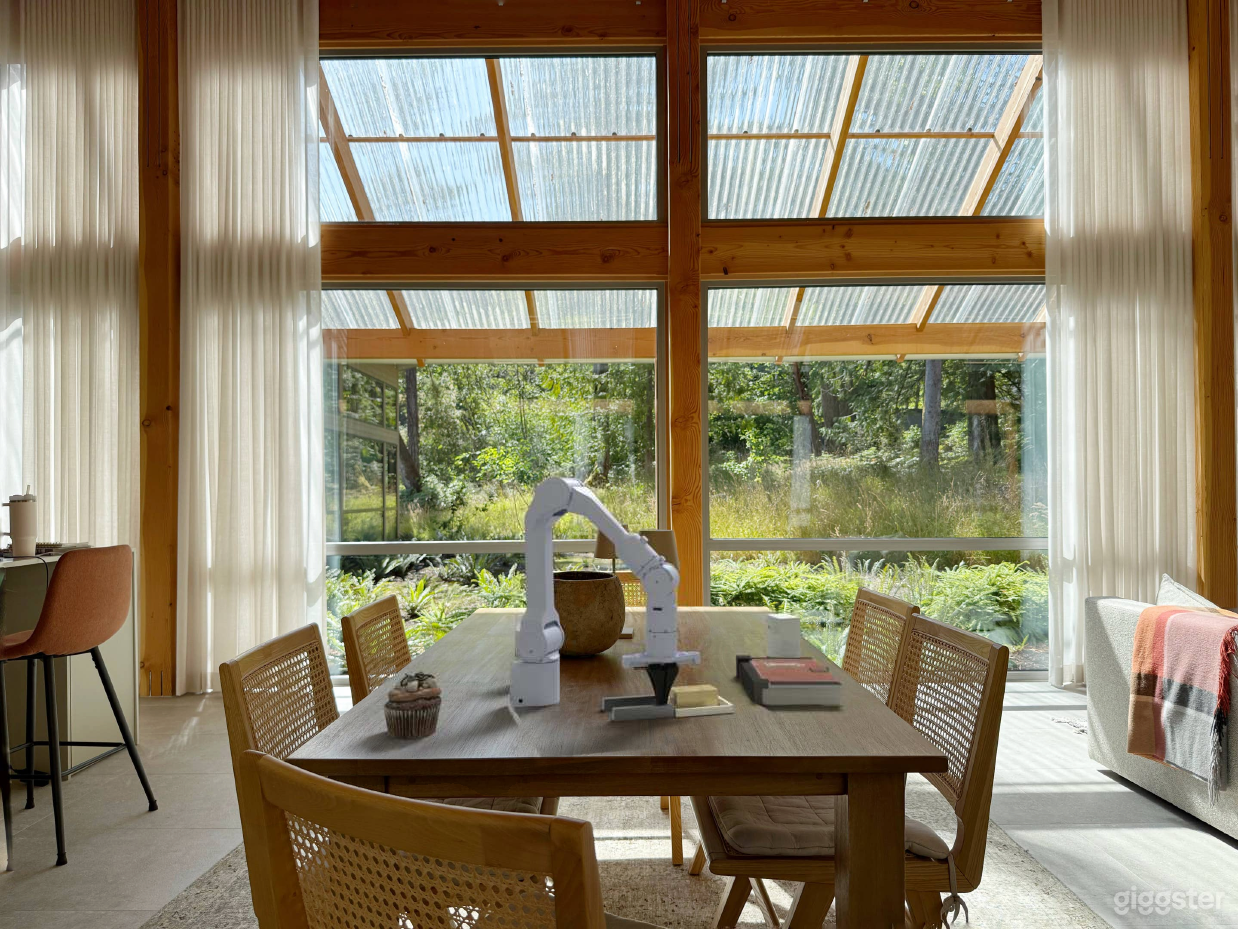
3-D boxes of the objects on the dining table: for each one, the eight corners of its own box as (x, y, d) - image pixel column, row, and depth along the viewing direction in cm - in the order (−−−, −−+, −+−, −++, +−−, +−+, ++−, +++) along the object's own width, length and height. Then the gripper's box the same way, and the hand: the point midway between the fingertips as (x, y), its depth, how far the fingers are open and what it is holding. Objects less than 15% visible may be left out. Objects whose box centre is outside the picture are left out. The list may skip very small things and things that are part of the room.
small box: (801, 661, 197) (801, 617, 197) (780, 662, 195) (779, 618, 196) (787, 655, 204) (786, 612, 205) (766, 656, 203) (766, 613, 204)
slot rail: (614, 726, 142) (614, 709, 142) (602, 714, 150) (602, 697, 150) (674, 722, 145) (673, 705, 145) (659, 710, 153) (659, 693, 153)
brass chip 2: (697, 713, 149) (697, 690, 149) (690, 707, 152) (689, 685, 153) (718, 711, 150) (717, 689, 150) (710, 706, 153) (709, 684, 154)
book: (846, 709, 155) (846, 682, 155) (754, 709, 155) (754, 682, 156) (814, 677, 181) (814, 655, 182) (736, 677, 182) (736, 655, 182)
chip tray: (676, 722, 145) (676, 710, 145) (660, 709, 153) (660, 697, 154) (734, 717, 147) (734, 705, 148) (715, 705, 156) (715, 693, 156)
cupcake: (415, 721, 146) (415, 665, 146) (452, 730, 140) (453, 672, 141) (370, 734, 138) (371, 674, 138) (409, 744, 132) (409, 682, 133)
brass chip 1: (676, 714, 148) (676, 692, 148) (669, 709, 151) (669, 687, 152) (697, 713, 149) (697, 690, 149) (690, 707, 152) (689, 685, 153)
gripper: (629, 635, 143) (629, 713, 143) (706, 632, 147) (706, 708, 147) (618, 629, 150) (618, 703, 150) (692, 626, 154) (693, 698, 154)
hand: (661, 705), depth 149 cm, fingers closed
